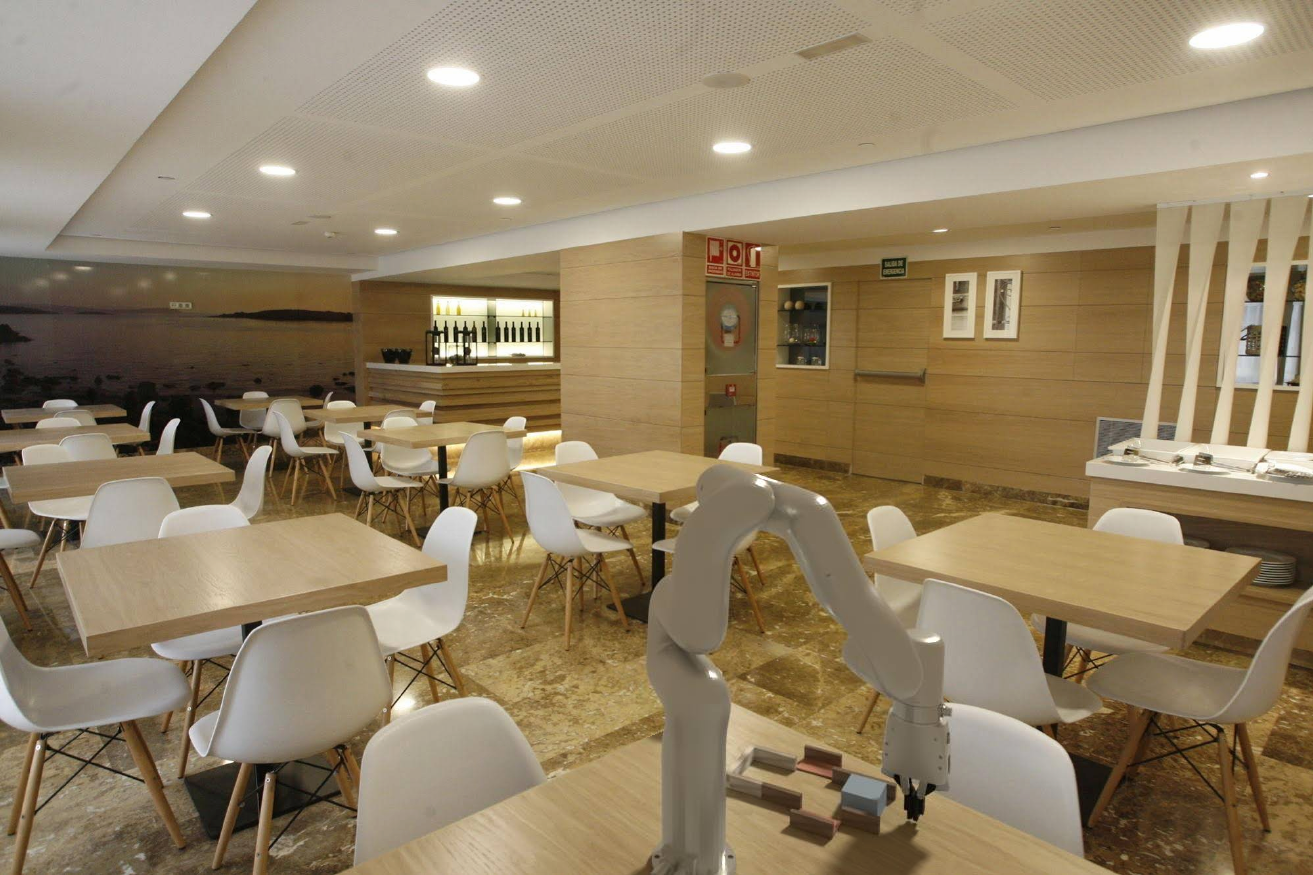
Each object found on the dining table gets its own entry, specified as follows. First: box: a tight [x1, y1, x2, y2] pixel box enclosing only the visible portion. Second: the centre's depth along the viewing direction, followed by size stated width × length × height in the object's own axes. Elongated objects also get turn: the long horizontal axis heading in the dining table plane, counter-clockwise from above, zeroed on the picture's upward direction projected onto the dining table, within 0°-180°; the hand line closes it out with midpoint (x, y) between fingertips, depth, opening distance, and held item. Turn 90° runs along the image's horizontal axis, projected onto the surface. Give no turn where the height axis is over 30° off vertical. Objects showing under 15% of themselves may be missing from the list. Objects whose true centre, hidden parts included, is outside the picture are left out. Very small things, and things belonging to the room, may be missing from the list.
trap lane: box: [726, 743, 898, 840], centre depth 132 cm, size 22×27×2 cm
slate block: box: [840, 774, 887, 817], centre depth 127 cm, size 6×6×4 cm
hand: (914, 815), depth 123 cm, fingers closed
